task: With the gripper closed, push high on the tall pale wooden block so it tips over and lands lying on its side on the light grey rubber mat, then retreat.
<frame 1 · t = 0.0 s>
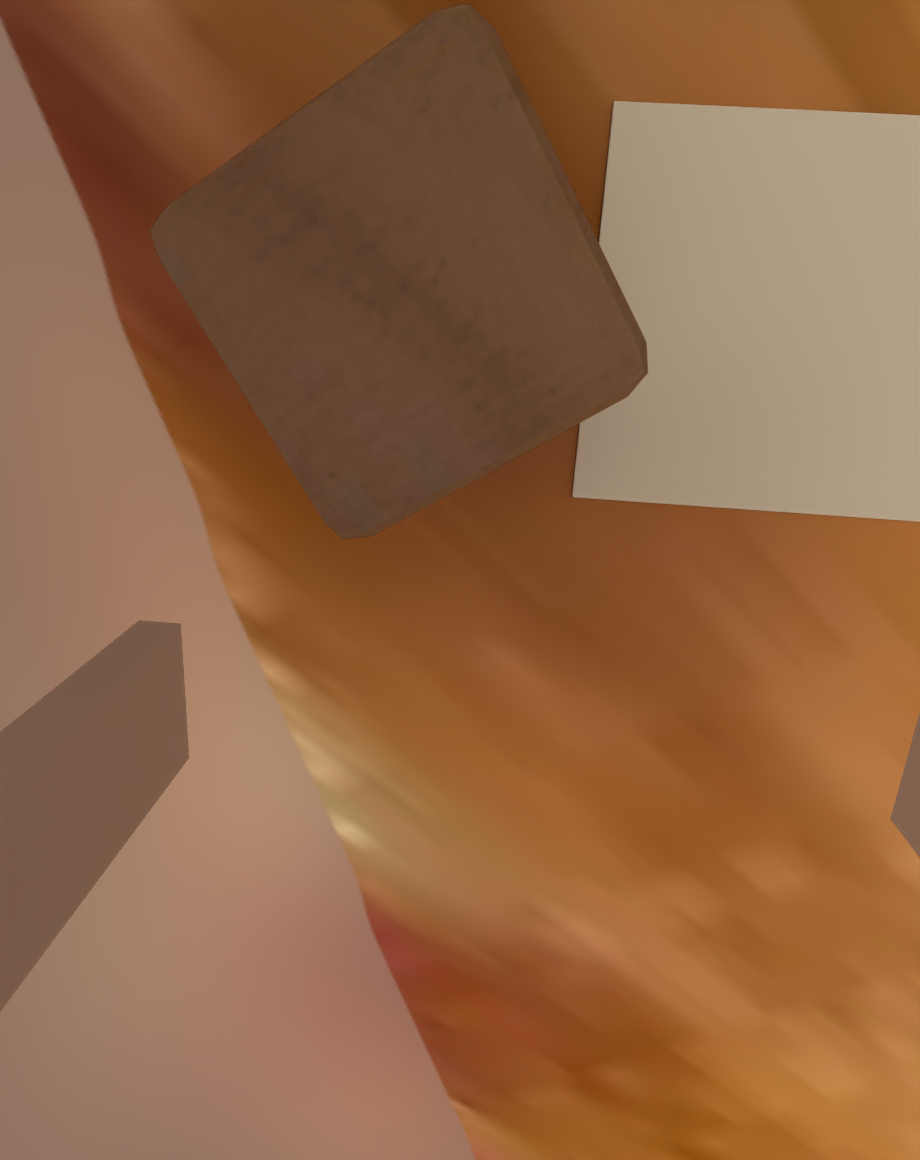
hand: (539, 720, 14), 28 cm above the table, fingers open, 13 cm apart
wooden block: (468, 306, 38), on the table, touching mat
mat: (799, 326, 38), on the table
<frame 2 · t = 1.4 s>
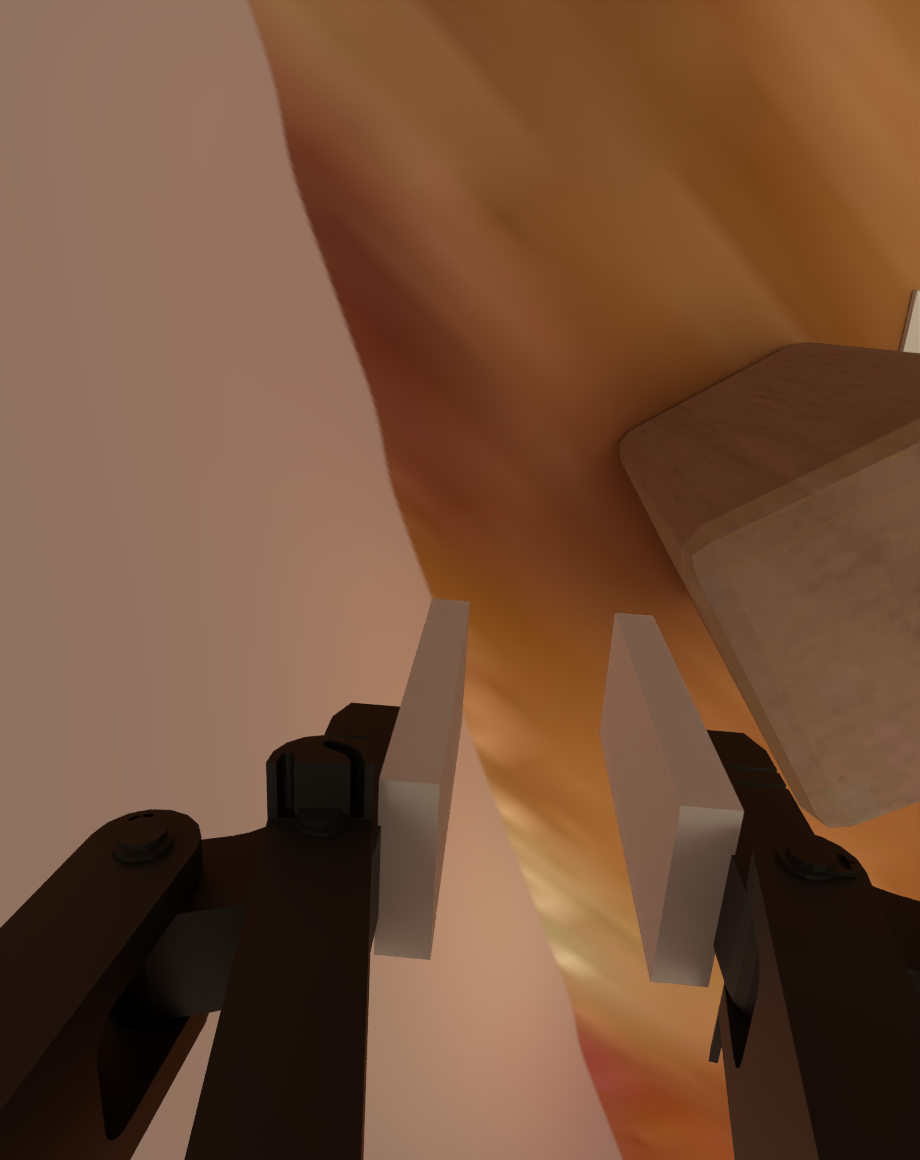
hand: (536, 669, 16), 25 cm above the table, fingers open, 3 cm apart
wooden block: (745, 476, 39), on the table, touching mat
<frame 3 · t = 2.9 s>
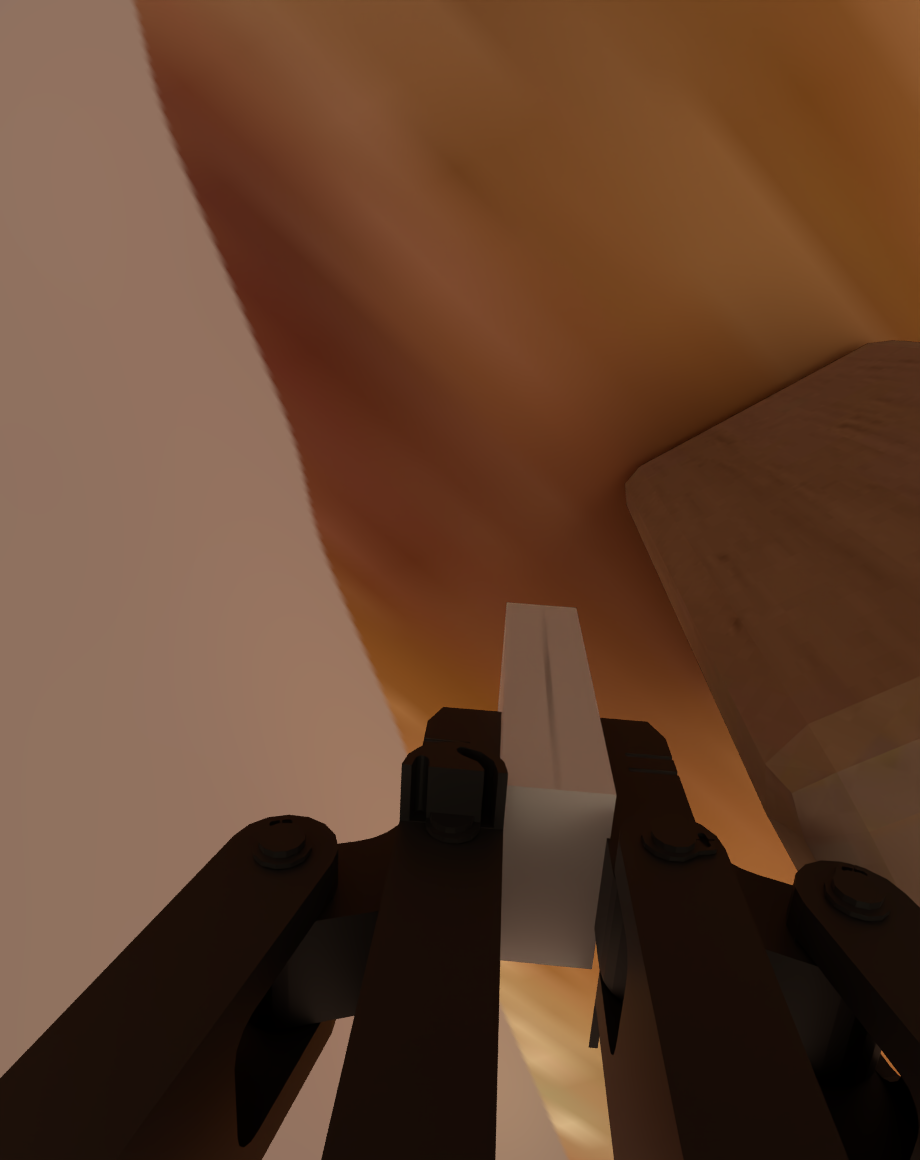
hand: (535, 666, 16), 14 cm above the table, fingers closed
wooden block: (799, 525, 28), on the table, touching gripper, mat
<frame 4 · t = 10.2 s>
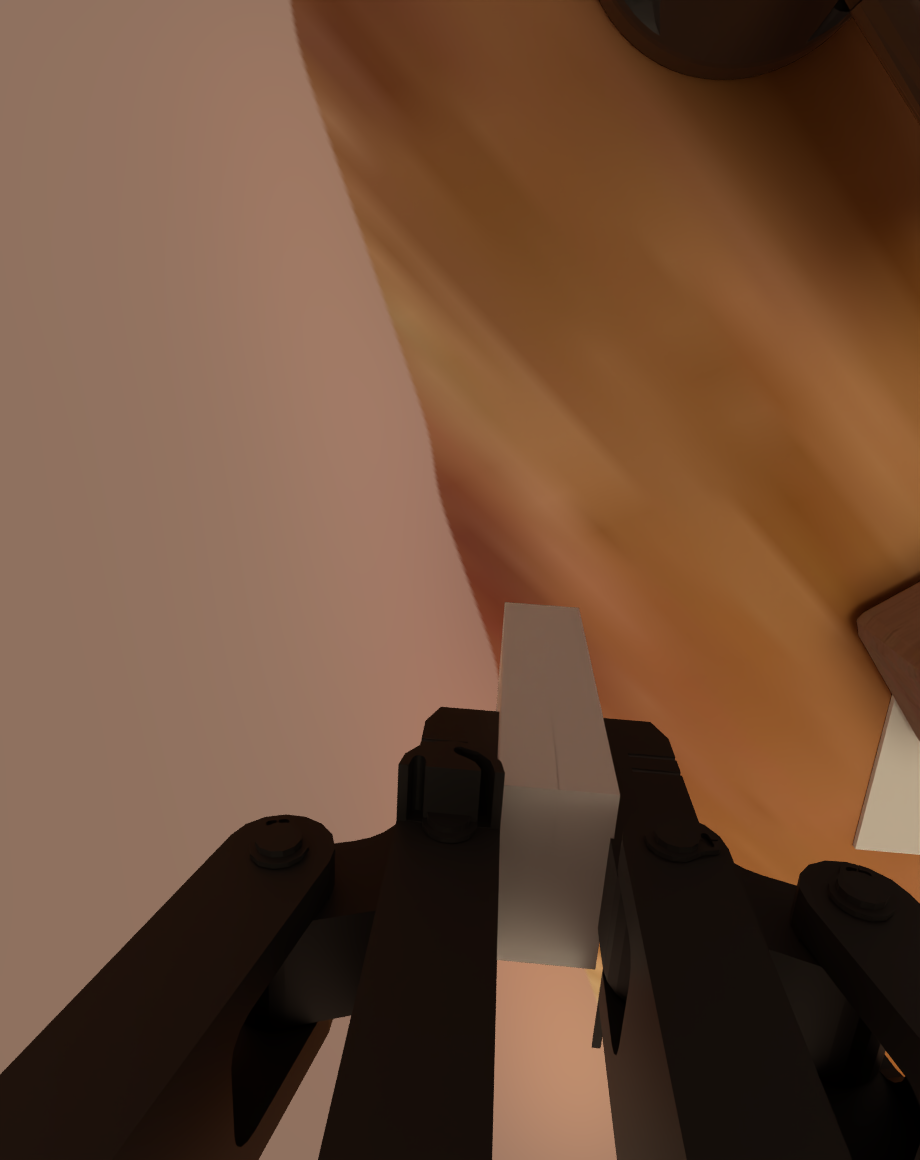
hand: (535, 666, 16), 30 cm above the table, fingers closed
wooden block: (919, 720, 43), point 6 cm above the table, touching mat
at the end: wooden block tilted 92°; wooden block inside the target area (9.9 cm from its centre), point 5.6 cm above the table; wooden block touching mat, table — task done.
